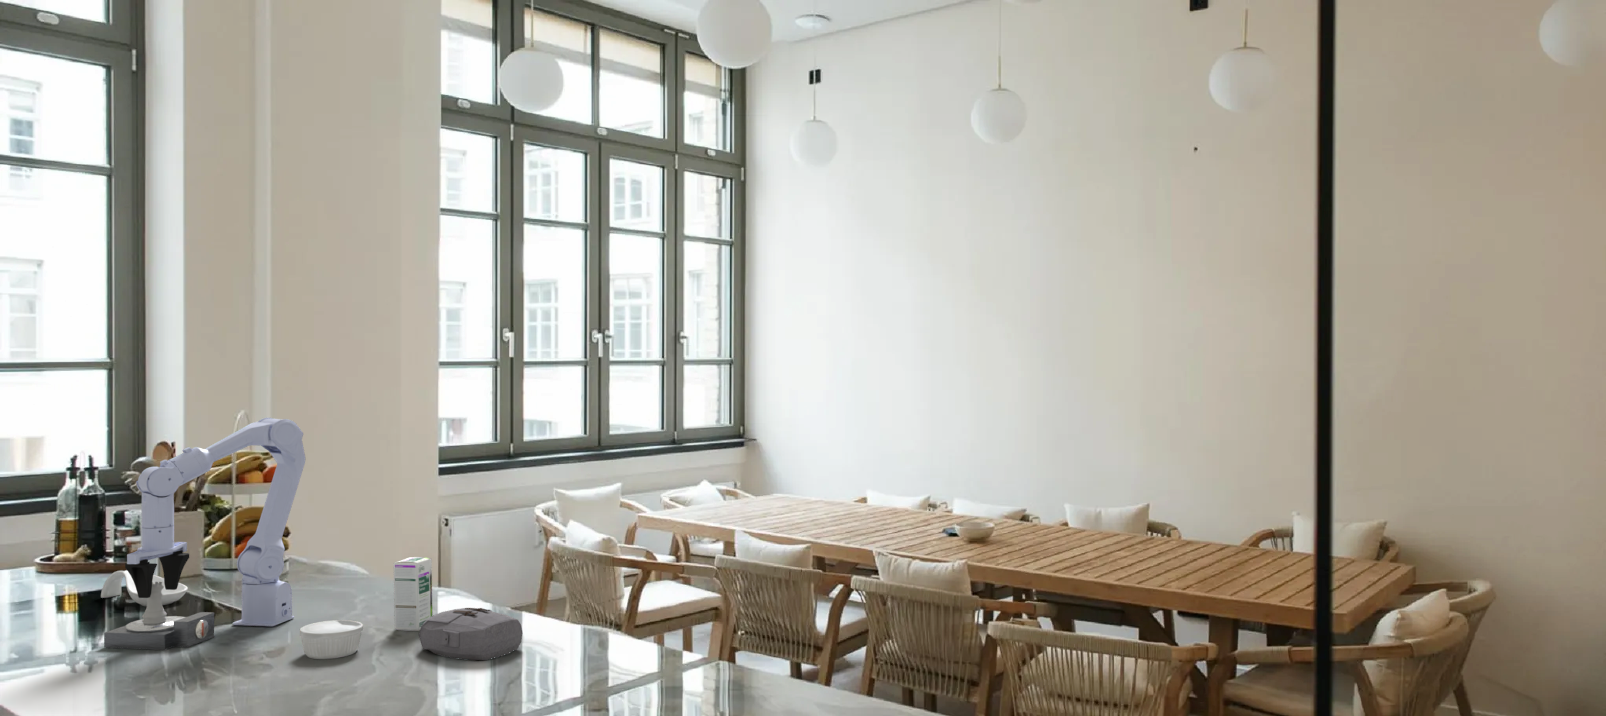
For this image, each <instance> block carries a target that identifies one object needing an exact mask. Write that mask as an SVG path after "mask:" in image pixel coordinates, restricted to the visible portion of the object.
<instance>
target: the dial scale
mask: <svg viewBox="0 0 1606 716" xmlns="http://www.w3.org/2000/svg"><path fill="white" fill-rule="evenodd" d="M165 617H166V618H167V620H166V621H165V622H164V623H161V624H154V625H145V624H143V622H142V621H143V620H144V619H143V618H142V619H138V620H134V621H131V622H129V623H127V624H126V625H123V626H120V627H117V628H114V629H111V630H109V631H108V630H107V631H105V632H103V634H104V635H103V639H104V641H103V642H104V643H103V648H105V649H128V650H155V651H156V650H158V651H160V650H161V651H167V650H169V649H171V648H189V647H191V646H194V645H197V644H199V643H202V642H205V641H208V640H210V639H212V638H215V612H211V611H210V612H208V611H206V612H205V611H200V612H197V613H195V614H194V613H193V614H192V615H189V616H180V615H179V616H177V615H171V616H167V615H166V616H165Z"/></svg>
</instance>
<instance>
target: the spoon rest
mask: <svg viewBox="0 0 1606 716" xmlns="http://www.w3.org/2000/svg"><path fill="white" fill-rule="evenodd" d="M123 579H124V580H125V586H126V587H125V588H126V590H127V593H128V594H129V596H130V598H131V599H132V600H133V601H134V602H135V603H137V604H138V605H140V606H142V607H147V602H148V598H139V597H138V593H137V590H136V587H135V584H134V581H133V579H132V577H131V575H130V574H129V572H128V571H127V570H117V571H114V572H113V573H111V574H110V575H109V576H108V577H107V578H106V580H105V581H104V583H103V586H102V588H101V591H100V592H101V593H100V598H102V599H103V598H104V599H107V598H112V597H118V596H121V595H122V580H123ZM152 582H153V584H155V582H158V583H159V582H162V586H163V587H164V588H163V589H162V590H161V593H162V594H163V595H162V596H161V600H162V606H166V605H171V604H173V603H175V602H177V601H179V600H180V599H181V598H182V597H184V595H185V594H186V592H187V591H188V590H189V589H188V586H187V585H185V584H183V583H181V582H179V583H178V587H177V589H176V590H166V589H165V584H164V577H161V576H158V575H155V574H154V575H153V580H152Z"/></svg>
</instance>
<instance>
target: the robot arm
mask: <svg viewBox="0 0 1606 716" xmlns="http://www.w3.org/2000/svg"><path fill="white" fill-rule="evenodd" d="M303 437H304V432H303V431H302V430H301V428H300V426H299V425H298V424H297V423H296V422H295V421H294V420H291V419H288V418H283V419H282V418H273V417H264V418H263V417H262V418H261V419H259V420H258V421H254V422H251V423H249V424H247V425H246V426H244V427H242V428H239V430H237V431H235V432H232V433H230V434H229V435H227V436H226V437H224V438H222V439H220V440H218V441H216V442H215V443H213V444H211V445H210V446H209V445H208V446H207V447H206V448H201V447H198V446H194V447H189V446H188V447H186V448H183V449H182V452H183V453H180V454H178V455H176V456H174V457H173V458H169V459H163V460H160V462H159V463H160V464H159V466H150V467H147V468H145V469H143V471H141V474H139V476H138V478H137V480H136V481H135V484H136V487H137V489H138V491H139V492H140V493H141V504H140V505H141V507H140V508H141V511H140V513H141V516H140V517H141V523H140V525H141V547H137V550H136V551H134V552H131V553H128V554H126V562H125V563H124V564H125V565H124V566H125V567H124V568H125V569H126V570H127V571H128V572H129V574H130V575H131V577H132V579H133V581H134V584H135V587H136V590H137V593H138V597H139V598H149V597H150V596H151V591H152V580H153V575H155V571H156V569H157V567H158V563H150V561H152V560H155V559H157V558H158V559H159V560H160V564H161V567H162V571H163V578H164V584H165V589H166V590H176V589H177V587H178V583H180V578H181V575H182V572H183V569H184V567H185V565H186V564H187V562H188V560H189V559H190V553H189V552H187V551H188V542H187V541H175V501H174V500H175V498H174V497H175V495H174V494H175V493H176V492H177V490H178V489H179V487H180V486H183V485H184V484H186V483H188V482H190V481H192V480H194V479H196V478H199V477H200V476H202V475H204V474H206V473H208V472H209V471H211V469H212V466H213V463H214V462H216V461H219V460H221V459H223V458H226V457H227V456H230V455H232V454H235V453H237V452H239V451H242V449H246V448H248V447H249V446H250V447H251V446H261V447H262V448H264V449H265V450H266V451H268V452H269V453H270V455H271V456H272V458H273V459H274V460H275V463H276V467H275V470H274V473H273V477H272V480H271V483H270V486H269V489H268V492H267V496H266V498H265V502H264V506H263V509H262V511H261V514H260V518H259V521H258V524H257V527H256V531H255V533H254V534H253V536H252V537H250V538H249V540H248V541H247V543H246V545H245V548H244V549H243V551H242V552H241V553H240V554H239V555H238V556H237V560H236V568H237V571H238V572H239V573H240V574H241V575H242V578H241V618H240V619H239V620H236V621H234V622H232V626H246V627H247V626H250V627H251V626H252V627H253V626H254V627H255V626H256V627H275V626H278V625H280V624H282V623H285V622H287V621H289V620H292V619H294V618H295V615H293V590H292V589H293V588H292V586H291V584H290V583H288V582H286V581H282V580H280V576H281V574H282V573H283V572H284V568H285V561H284V553H285V550H286V549H285V545H284V542H283V539H282V538H283V535H284V533H285V530H286V526H287V522H288V519H289V516H290V513H291V509H292V505H293V503H294V500H295V497H296V493H297V490H298V487H299V483H300V480H301V477H302V474H303V471H304V468H305V464H306V454H305V449H304V444H303Z"/></svg>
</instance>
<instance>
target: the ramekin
mask: <svg viewBox="0 0 1606 716" xmlns="http://www.w3.org/2000/svg"><path fill="white" fill-rule="evenodd" d="M363 629H364V624H363V623H362V622H360V621H355V620H349V619H348V620H347V619H333V620H324V621H318V622H317V621H316V622H314V623H309V624H306V625H304V626H302V627H300V628H299V636H300V637H301V643H302V649H303V653H304V655H305V656H306V657H307V658H310V659H313V660H314V659H315V660H331V659H339V658H344V657H347V656H351V655H354V654H356V652H357V650H359V648H360V647H359V646H360V641H361V636H362V631H363Z"/></svg>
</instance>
